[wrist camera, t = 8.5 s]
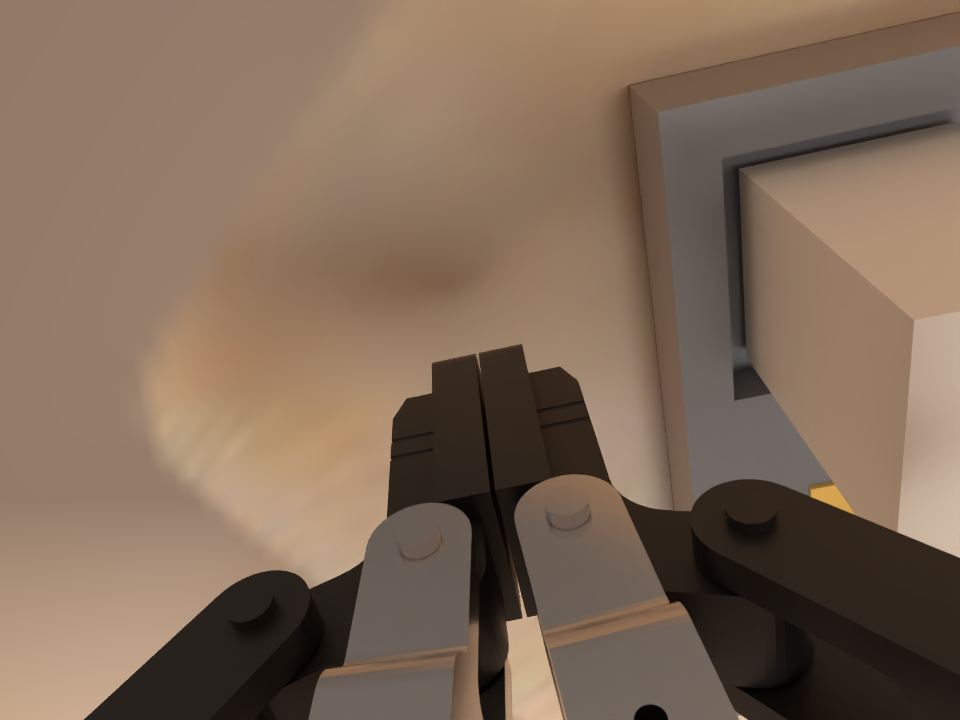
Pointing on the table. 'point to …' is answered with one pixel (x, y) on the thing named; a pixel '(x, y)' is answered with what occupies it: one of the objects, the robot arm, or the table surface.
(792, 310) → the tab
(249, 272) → the table surface
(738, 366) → the switch board
